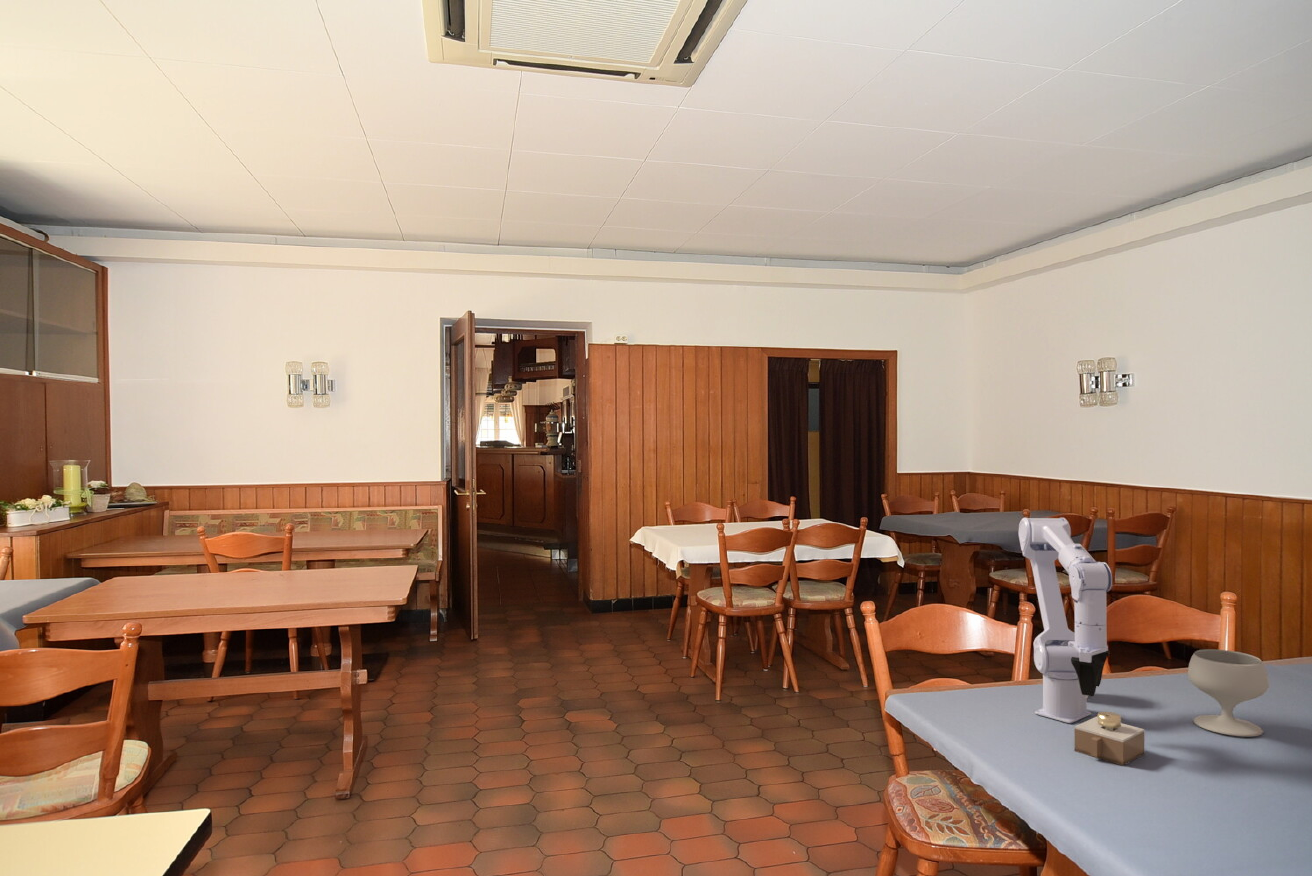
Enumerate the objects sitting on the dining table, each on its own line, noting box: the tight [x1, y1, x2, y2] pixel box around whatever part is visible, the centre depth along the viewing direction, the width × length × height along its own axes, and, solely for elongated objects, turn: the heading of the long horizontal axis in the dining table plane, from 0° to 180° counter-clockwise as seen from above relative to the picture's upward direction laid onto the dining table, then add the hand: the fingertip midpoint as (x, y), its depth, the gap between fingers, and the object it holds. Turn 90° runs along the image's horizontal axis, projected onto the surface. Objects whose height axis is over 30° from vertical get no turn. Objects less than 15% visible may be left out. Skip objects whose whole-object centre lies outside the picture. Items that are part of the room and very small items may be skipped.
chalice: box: [1187, 648, 1270, 738], centre depth 172 cm, size 14×14×15 cm
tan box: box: [1074, 716, 1145, 766], centre depth 159 cm, size 11×9×5 cm
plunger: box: [1097, 711, 1122, 731], centre depth 160 cm, size 4×4×6 cm
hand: (1090, 690), depth 165 cm, fingers open, 7 cm apart
